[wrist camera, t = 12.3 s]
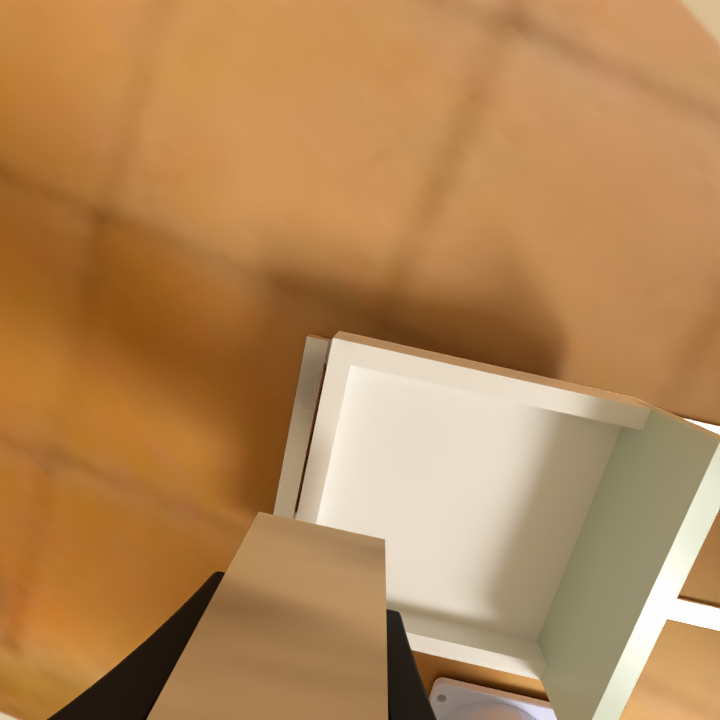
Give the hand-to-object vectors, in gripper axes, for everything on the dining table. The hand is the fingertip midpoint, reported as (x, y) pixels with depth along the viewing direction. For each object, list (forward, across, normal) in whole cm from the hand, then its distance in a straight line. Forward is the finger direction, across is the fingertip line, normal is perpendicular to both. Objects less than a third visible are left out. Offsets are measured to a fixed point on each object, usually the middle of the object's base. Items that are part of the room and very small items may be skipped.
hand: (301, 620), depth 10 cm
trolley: (+8, -5, -1) cm, 10 cm away
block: (+1, 0, 0) cm, 1 cm away
